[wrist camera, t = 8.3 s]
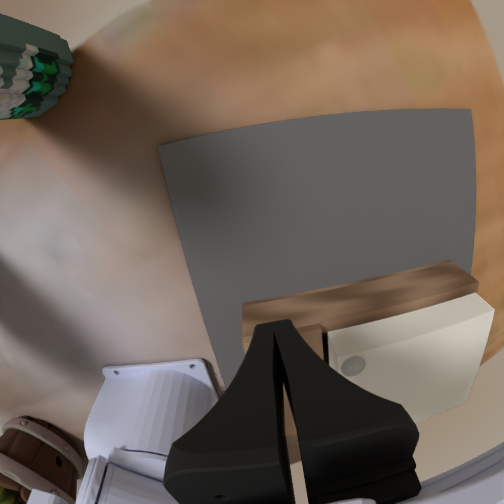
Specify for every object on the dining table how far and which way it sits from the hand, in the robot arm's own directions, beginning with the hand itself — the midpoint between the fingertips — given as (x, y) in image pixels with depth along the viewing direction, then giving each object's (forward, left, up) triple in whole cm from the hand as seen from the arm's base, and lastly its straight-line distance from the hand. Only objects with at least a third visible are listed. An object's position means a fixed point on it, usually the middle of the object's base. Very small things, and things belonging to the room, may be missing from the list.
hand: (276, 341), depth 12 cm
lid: (+8, -9, -5) cm, 13 cm away
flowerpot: (-32, -21, -10) cm, 40 cm away
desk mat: (+6, -3, -10) cm, 12 cm away
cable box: (+6, -8, -10) cm, 14 cm away
